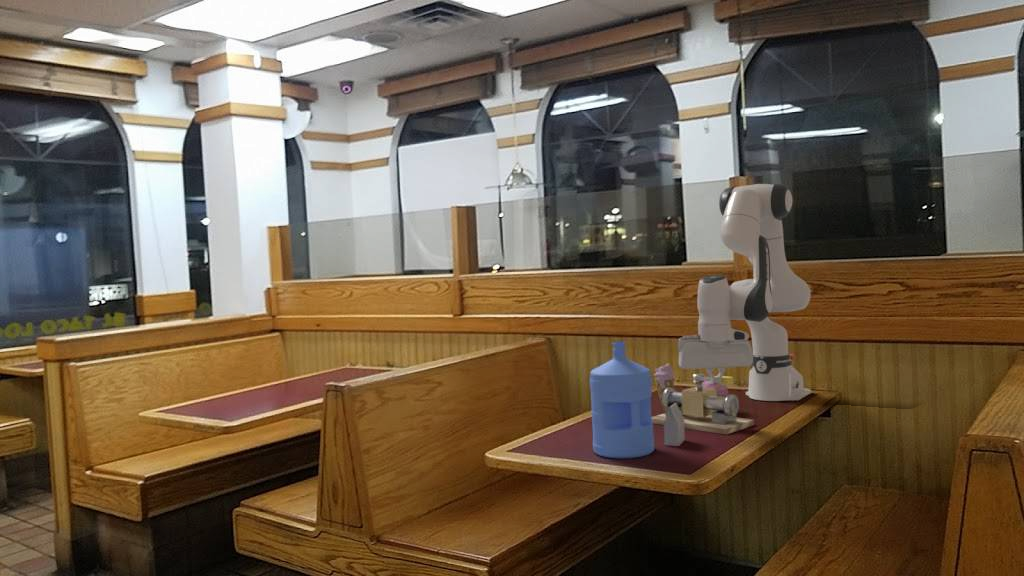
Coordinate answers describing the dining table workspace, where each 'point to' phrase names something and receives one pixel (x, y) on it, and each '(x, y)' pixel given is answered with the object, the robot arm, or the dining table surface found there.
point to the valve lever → (724, 380)
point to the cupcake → (721, 389)
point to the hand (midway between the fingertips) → (716, 383)
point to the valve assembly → (704, 410)
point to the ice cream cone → (664, 380)
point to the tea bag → (674, 427)
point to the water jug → (621, 407)
